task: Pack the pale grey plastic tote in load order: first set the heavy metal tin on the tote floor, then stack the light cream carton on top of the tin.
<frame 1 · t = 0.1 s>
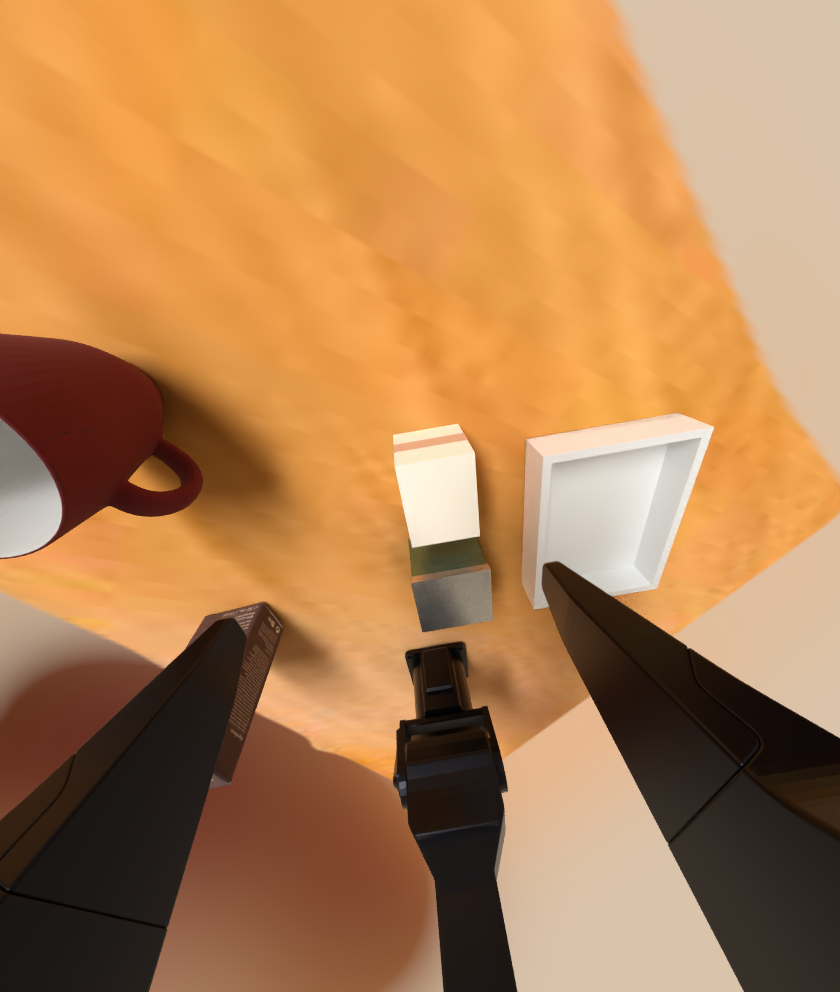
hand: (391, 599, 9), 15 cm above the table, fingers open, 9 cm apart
box: (245, 618, 30), on the table
carton: (431, 467, 24), on the table
tin: (444, 557, 28), on the table
mug: (152, 405, 20), on the table
tote: (588, 511, 27), on the table
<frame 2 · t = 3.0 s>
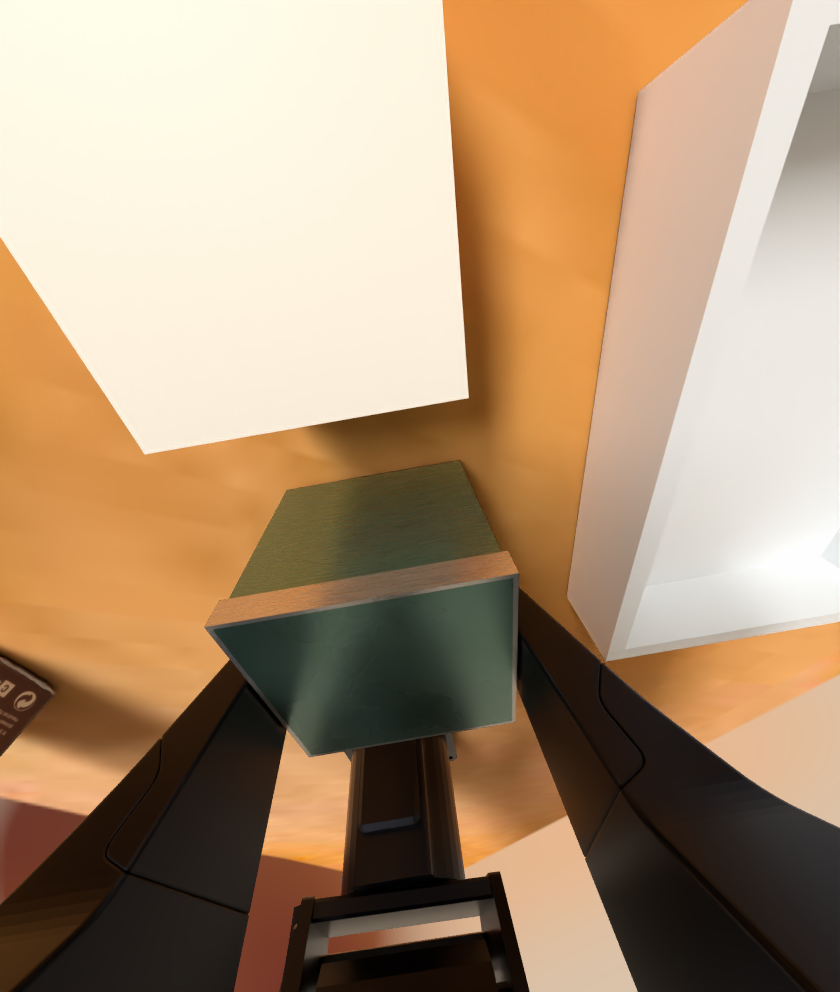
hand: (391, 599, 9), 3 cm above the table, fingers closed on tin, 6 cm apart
carton: (309, 220, 7), on the table
tin: (390, 542, 11), on the table, touching gripper
tote: (757, 412, 10), on the table
when the fingers open (3 cm above the table, at t = 6.1 s): tin stays where it is, resting on tote.
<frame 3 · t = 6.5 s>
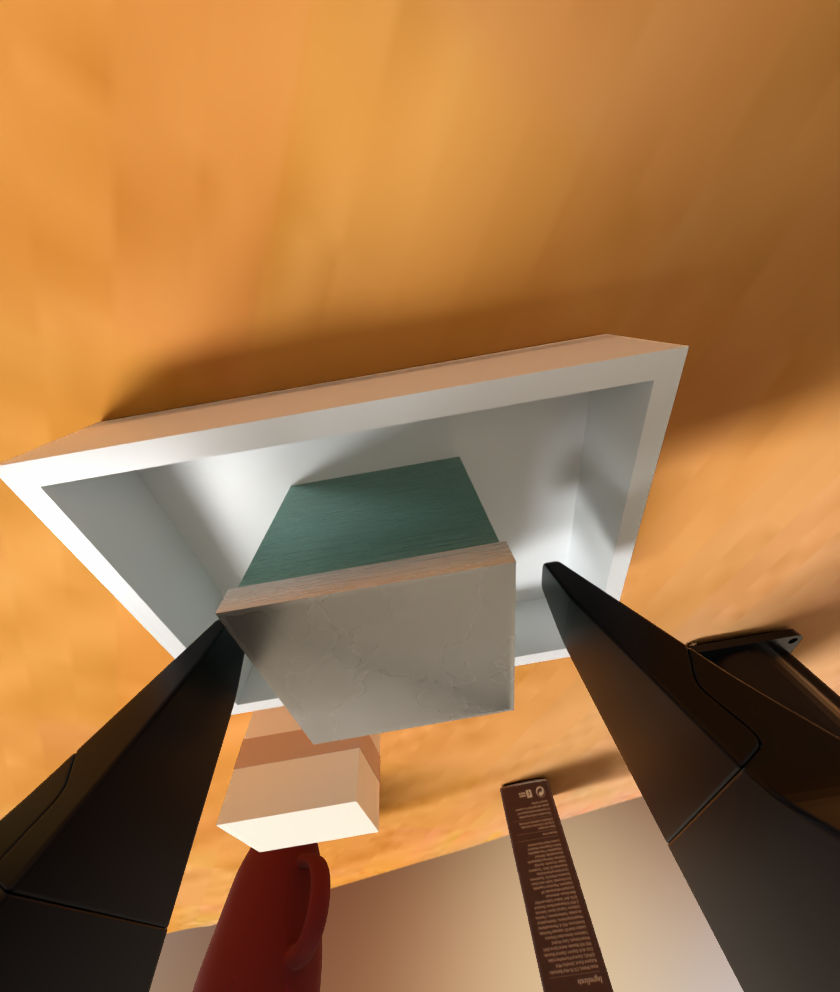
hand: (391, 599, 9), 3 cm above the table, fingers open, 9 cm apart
box: (522, 789, 29), on the table
carton: (322, 710, 19), on the table
tin: (391, 537, 12), point 1 cm above the table, touching tote
mug: (295, 816, 28), on the table
tote: (389, 526, 12), on the table
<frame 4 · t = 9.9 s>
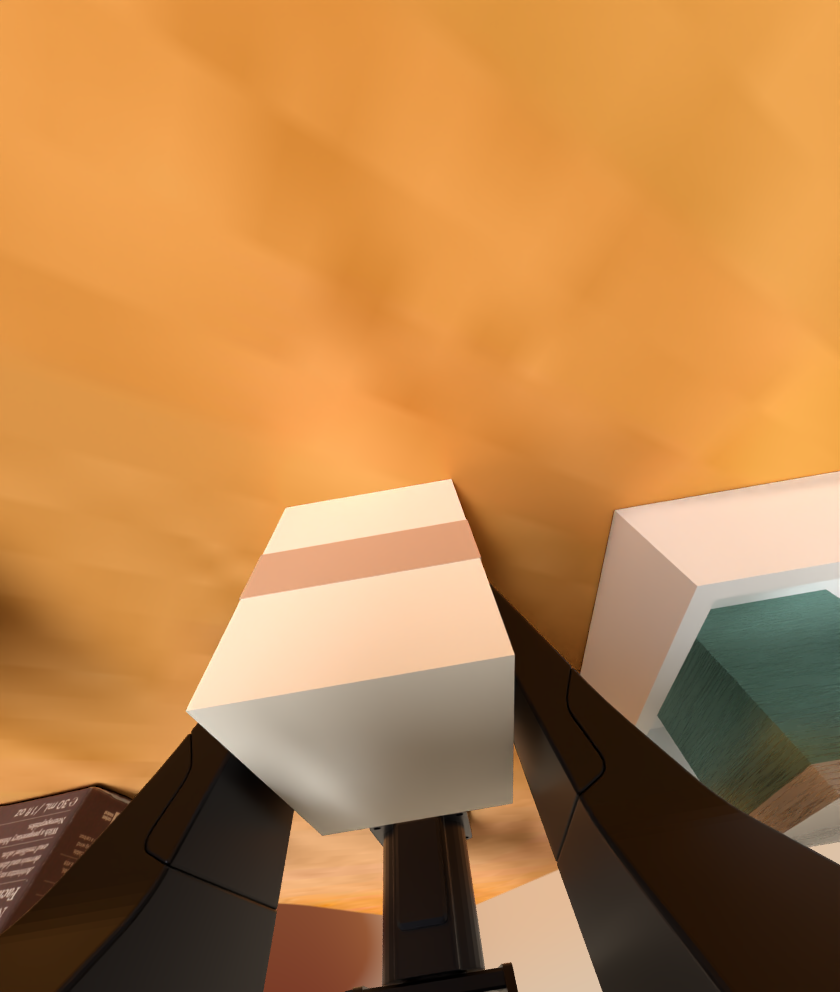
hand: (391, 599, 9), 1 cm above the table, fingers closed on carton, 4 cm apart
box: (75, 800, 17), on the table
carton: (390, 573, 10), on the table, touching gripper
tin: (723, 647, 13), point 1 cm above the table, touching tote
tote: (712, 632, 13), on the table
when the fingers open (8 cm above the table, at t = 12.9 s): carton drops 1 cm, resting on tin.
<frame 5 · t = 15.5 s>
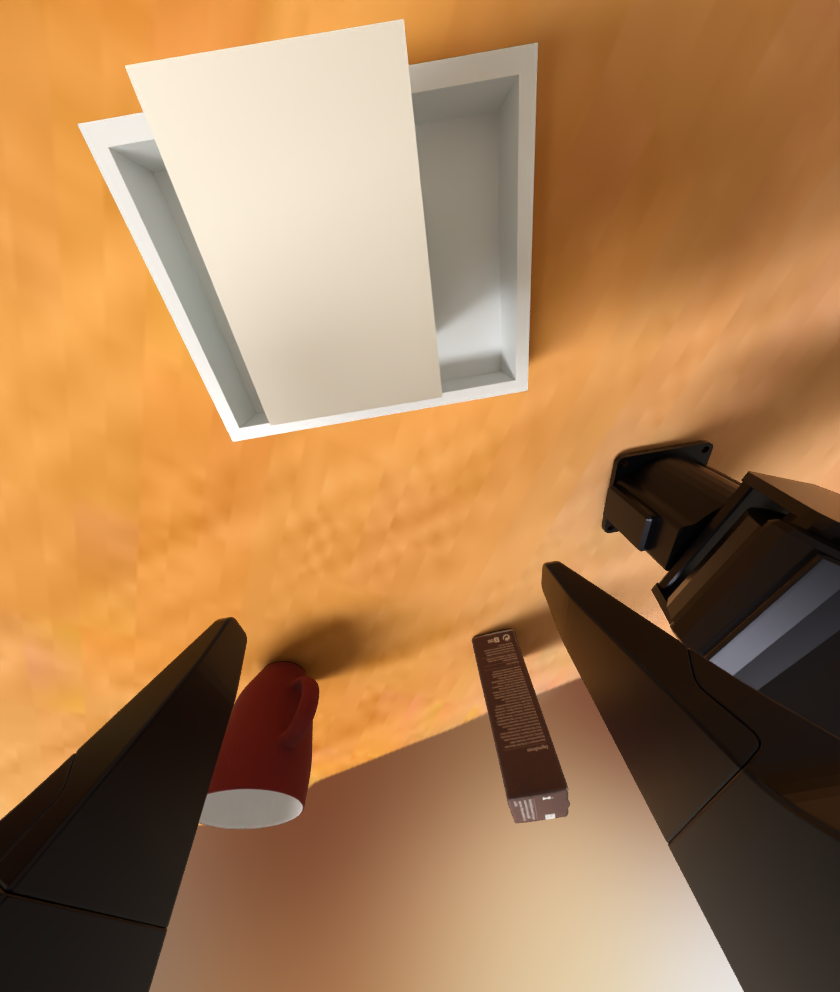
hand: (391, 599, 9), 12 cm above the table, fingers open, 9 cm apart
box: (493, 647, 33), on the table
carton: (347, 282, 11), point 6 cm above the table, touching tin
mug: (290, 664, 31), on the table
tote: (357, 288, 16), on the table
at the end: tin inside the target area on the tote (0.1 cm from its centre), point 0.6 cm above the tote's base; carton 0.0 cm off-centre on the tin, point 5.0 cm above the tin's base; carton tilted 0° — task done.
